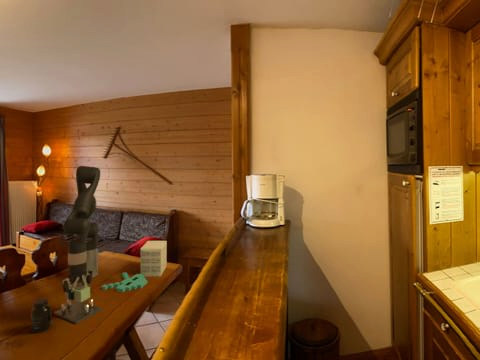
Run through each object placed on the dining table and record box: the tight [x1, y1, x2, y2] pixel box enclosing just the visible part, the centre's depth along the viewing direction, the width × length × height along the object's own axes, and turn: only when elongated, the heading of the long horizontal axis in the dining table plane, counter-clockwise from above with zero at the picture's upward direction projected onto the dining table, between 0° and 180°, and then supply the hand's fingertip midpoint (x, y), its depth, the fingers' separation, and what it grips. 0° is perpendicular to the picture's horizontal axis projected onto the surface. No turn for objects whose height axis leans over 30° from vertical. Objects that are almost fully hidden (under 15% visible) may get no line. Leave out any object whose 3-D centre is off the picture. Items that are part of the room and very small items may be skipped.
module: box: [65, 284, 91, 302], centre depth 125 cm, size 9×5×5 cm, turn 74°
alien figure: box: [101, 272, 148, 293], centre depth 157 cm, size 20×2×20 cm
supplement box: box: [140, 240, 168, 277], centre depth 175 cm, size 17×13×18 cm
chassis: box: [53, 298, 102, 325], centre depth 125 cm, size 16×12×5 cm
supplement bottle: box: [30, 297, 52, 334], centre depth 113 cm, size 7×7×12 cm
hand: (77, 296), depth 125 cm, fingers closed on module, 5 cm apart
